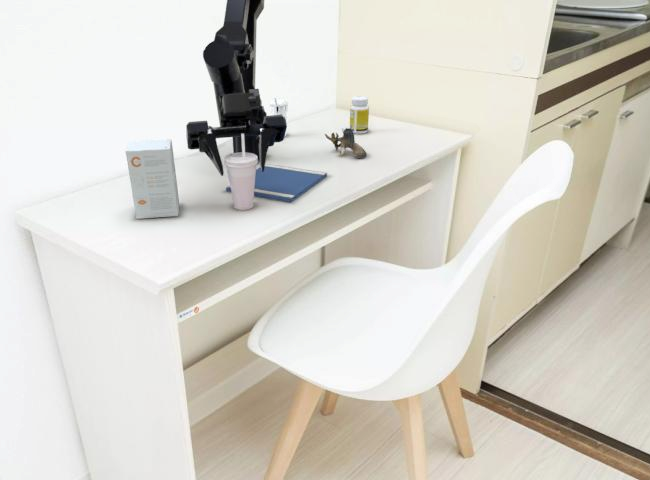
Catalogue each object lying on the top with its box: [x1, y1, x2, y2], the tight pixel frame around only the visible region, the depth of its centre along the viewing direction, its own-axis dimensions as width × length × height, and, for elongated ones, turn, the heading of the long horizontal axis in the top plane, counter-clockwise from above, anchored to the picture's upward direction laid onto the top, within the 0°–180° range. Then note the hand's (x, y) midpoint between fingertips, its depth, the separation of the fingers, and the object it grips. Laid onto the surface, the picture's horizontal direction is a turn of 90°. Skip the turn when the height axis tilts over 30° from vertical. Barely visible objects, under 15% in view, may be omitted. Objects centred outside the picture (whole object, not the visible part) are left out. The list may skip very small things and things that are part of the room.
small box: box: [125, 138, 180, 220], centre depth 121 cm, size 8×6×13 cm
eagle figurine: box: [324, 127, 368, 160], centre depth 151 cm, size 8×7×9 cm
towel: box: [225, 163, 328, 204], centre depth 136 cm, size 15×17×1 cm
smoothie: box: [223, 133, 259, 211], centre depth 123 cm, size 6×6×14 cm
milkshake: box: [269, 97, 289, 138], centre depth 164 cm, size 4×5×10 cm
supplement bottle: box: [349, 95, 370, 135], centre depth 166 cm, size 5×5×8 cm
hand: (242, 172), depth 121 cm, fingers open, 7 cm apart
